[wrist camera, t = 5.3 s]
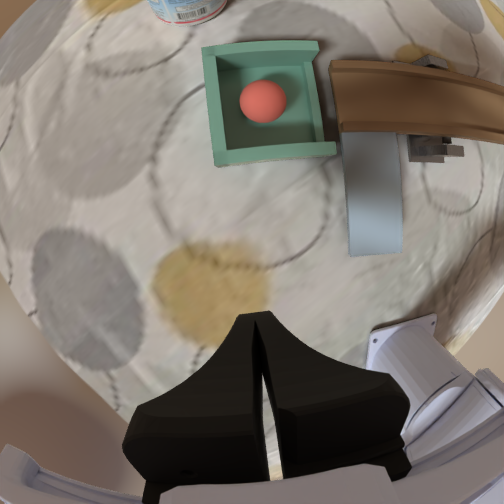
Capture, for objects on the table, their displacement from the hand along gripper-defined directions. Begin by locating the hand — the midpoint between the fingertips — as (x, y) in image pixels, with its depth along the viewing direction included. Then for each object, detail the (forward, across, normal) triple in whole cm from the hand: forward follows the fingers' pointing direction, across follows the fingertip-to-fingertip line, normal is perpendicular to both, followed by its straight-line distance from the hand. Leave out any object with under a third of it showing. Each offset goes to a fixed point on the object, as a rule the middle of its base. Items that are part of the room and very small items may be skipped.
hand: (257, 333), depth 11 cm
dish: (+10, -2, -11) cm, 15 cm away
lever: (+7, -16, -7) cm, 19 cm away
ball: (+8, -2, -11) cm, 14 cm away
